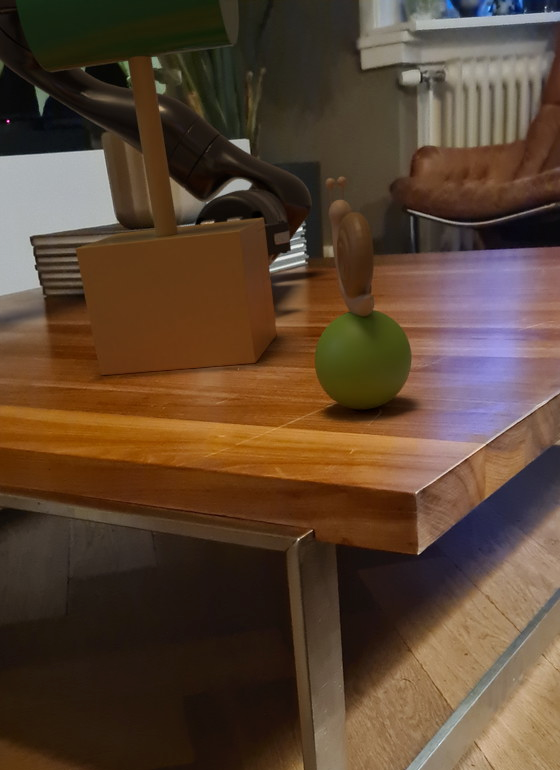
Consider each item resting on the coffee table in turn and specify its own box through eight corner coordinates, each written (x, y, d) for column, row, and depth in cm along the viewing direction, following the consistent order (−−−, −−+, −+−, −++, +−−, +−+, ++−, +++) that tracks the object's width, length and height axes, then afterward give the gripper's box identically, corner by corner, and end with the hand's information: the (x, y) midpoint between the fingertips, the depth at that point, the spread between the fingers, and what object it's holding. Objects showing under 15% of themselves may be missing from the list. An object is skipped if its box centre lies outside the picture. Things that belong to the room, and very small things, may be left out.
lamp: (261, 364, 66) (206, -99, 54) (92, 377, 69) (2, -62, 56) (282, 335, 75) (240, -67, 63) (132, 347, 78) (63, -37, 65)
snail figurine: (394, 386, 56) (382, 171, 51) (425, 411, 51) (416, 171, 45) (307, 400, 56) (286, 183, 50) (330, 426, 50) (309, 185, 45)
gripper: (310, 266, 91) (284, 296, 76) (182, 279, 93) (132, 310, 78) (302, 183, 87) (274, 197, 72) (170, 199, 90) (115, 215, 75)
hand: (200, 255), depth 75 cm, fingers closed
